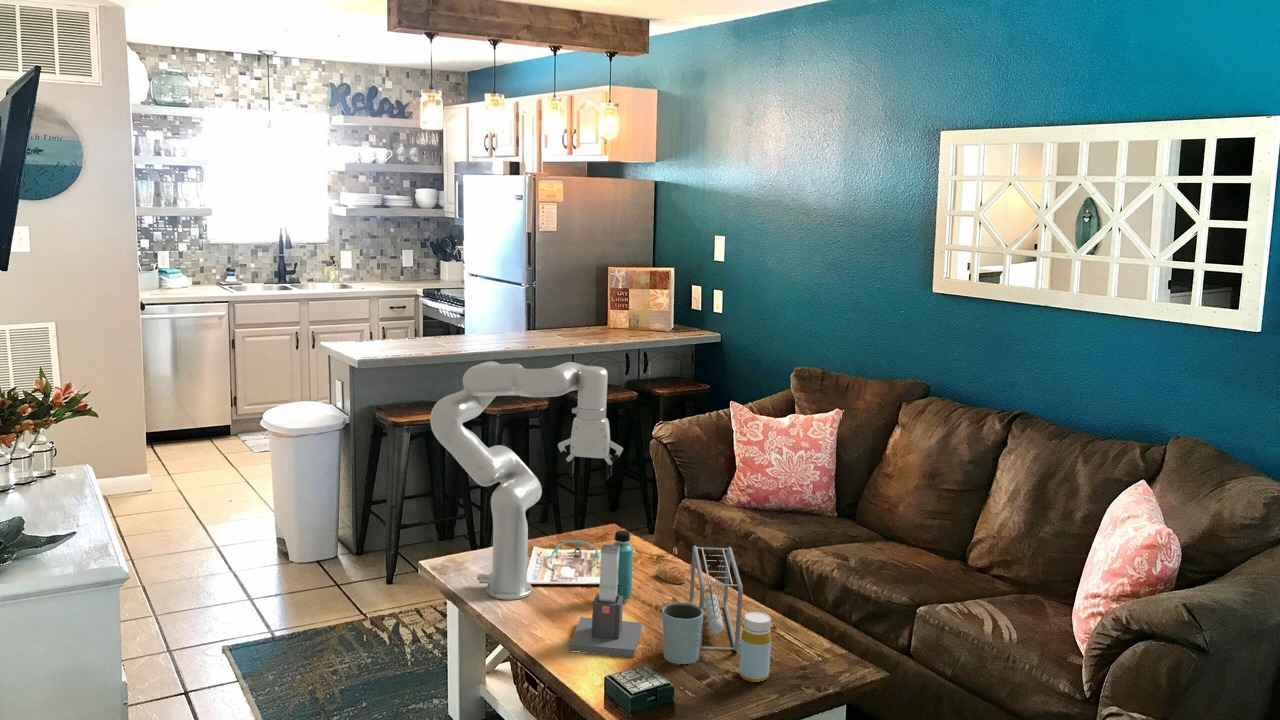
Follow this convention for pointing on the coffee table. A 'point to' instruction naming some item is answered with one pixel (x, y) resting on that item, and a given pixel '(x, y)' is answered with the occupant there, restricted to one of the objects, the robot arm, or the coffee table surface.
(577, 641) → the stand base
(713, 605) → the newton's cradle
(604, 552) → the stand column
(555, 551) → the teal thin curved band
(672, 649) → the grey cup
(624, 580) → the beverage bottle
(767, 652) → the bottle
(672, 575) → the pastry
